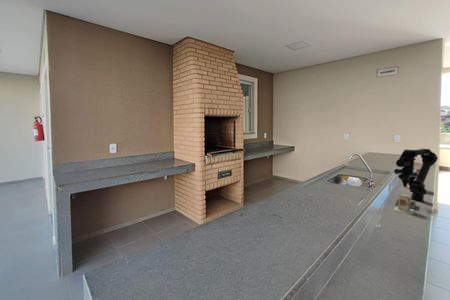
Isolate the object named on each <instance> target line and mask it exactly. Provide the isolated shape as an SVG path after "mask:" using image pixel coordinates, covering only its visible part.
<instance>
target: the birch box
mask: <svg viewBox="0 0 450 300" xmlns="http://www.w3.org/2000/svg"><path fill="white" fill-rule="evenodd" d="M411 196H412V195H408V194H403V193H402V194H400V195H398V199H399V202H398V210H402V211H406V212H407V211H409V210H410V201H412V200H411Z"/></svg>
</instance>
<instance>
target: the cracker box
mask: <svg viewBox="0 0 450 300" xmlns="http://www.w3.org/2000/svg"><path fill="white" fill-rule="evenodd" d="M414 168H415V169H413V172H416V173H417V174H419V172H420V169H421V167H416V166H414ZM417 176H418V175H417ZM414 177H415V176H414ZM416 178H417V177H416ZM416 178H415V180H416ZM415 180H414V181H415ZM405 189H408V190H410V188H409V184H407V186H406V187H405Z"/></svg>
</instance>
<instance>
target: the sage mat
mask: <svg viewBox="0 0 450 300" xmlns="http://www.w3.org/2000/svg"><path fill="white" fill-rule="evenodd" d="M393 211H395V212H399V213H403V214H410V215H413V214H414V211H415V210H414V209H410V210H409V211H407V212H406V211H402V210H398V206H395V207H394V209H393Z"/></svg>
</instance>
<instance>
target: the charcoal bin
mask: <svg viewBox="0 0 450 300" xmlns="http://www.w3.org/2000/svg"><path fill="white" fill-rule="evenodd" d="M398 202H399V198H397V199H396V201H395V205H394V206H395V207H396V206H398ZM416 206H417V201H413V200H410V209H414V211H415V209H416Z"/></svg>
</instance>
